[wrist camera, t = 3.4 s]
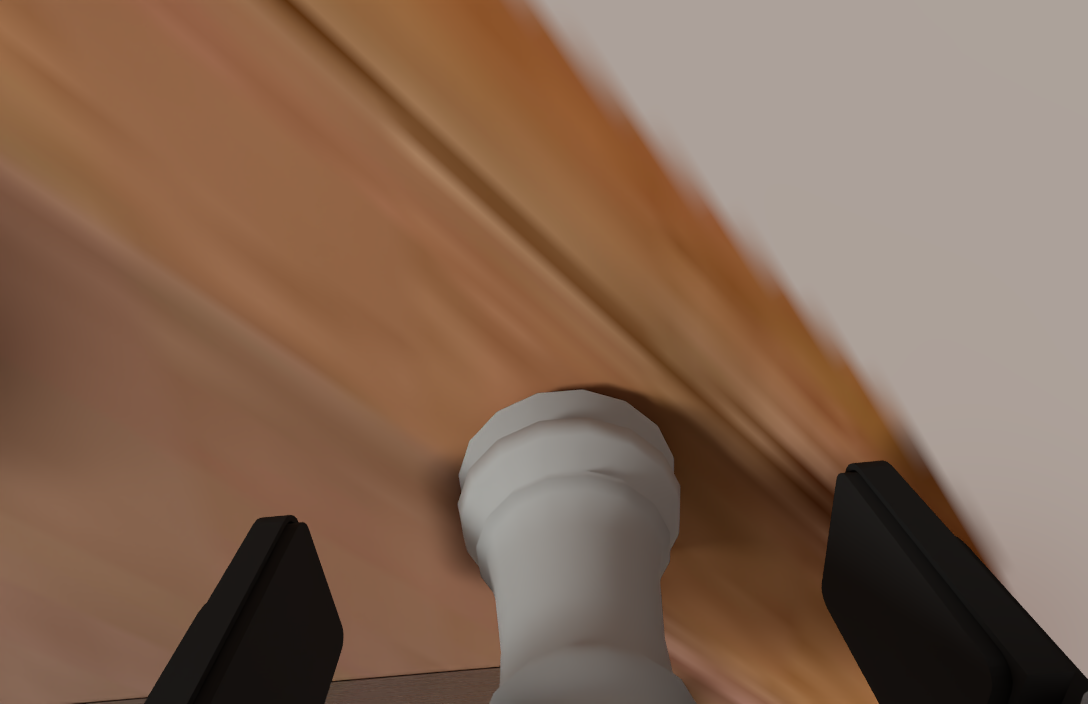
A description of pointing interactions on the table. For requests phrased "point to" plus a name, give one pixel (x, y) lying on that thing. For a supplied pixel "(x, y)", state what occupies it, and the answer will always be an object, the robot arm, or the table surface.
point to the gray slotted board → (409, 689)
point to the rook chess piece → (574, 548)
